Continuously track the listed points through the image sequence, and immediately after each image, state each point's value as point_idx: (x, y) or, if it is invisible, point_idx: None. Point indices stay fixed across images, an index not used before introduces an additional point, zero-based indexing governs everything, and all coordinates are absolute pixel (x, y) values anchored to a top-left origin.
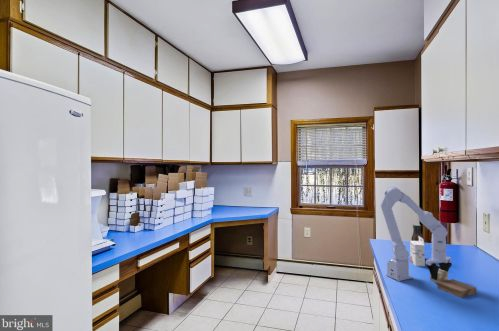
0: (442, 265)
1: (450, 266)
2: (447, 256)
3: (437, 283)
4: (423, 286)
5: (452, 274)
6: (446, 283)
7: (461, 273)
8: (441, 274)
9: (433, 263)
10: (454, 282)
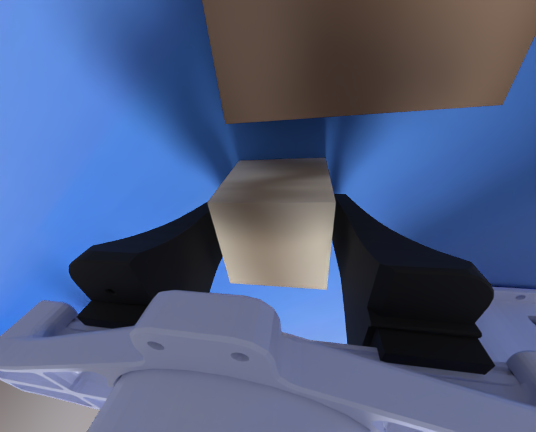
0: (192, 288)
1: (124, 239)
2: (21, 387)
3: (491, 103)
4: (517, 173)
5: (117, 229)
6: (441, 26)
7: (58, 219)
8: (314, 195)
9: (421, 365)
10: (297, 20)
